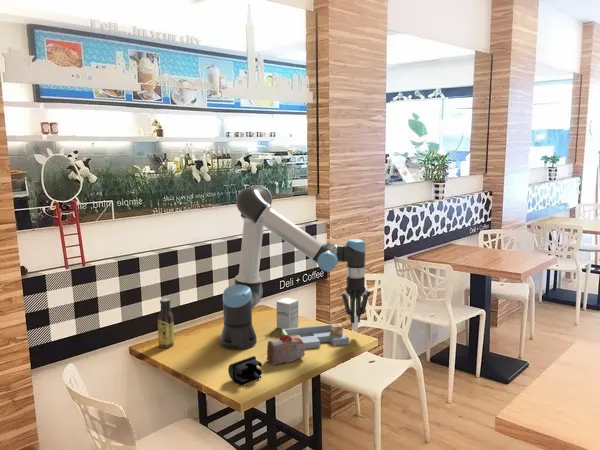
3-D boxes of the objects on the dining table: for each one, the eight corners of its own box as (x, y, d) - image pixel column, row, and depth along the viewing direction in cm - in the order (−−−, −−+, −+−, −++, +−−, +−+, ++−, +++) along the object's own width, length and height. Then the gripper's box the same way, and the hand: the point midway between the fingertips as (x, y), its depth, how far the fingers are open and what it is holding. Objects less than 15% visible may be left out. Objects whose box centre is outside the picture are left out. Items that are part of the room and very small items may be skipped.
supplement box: (276, 328, 227) (275, 301, 224) (285, 323, 233) (285, 296, 231) (289, 331, 222) (289, 304, 220) (299, 326, 228) (298, 299, 226)
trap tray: (340, 334, 219) (340, 323, 218) (348, 343, 208) (349, 332, 207) (281, 340, 212) (281, 329, 211) (287, 350, 202) (287, 338, 201)
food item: (296, 352, 200) (296, 328, 199) (306, 359, 193) (306, 335, 192) (265, 359, 193) (264, 335, 192) (274, 367, 187) (274, 342, 185)
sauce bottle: (155, 345, 207) (153, 299, 204) (168, 341, 212) (166, 296, 209) (164, 350, 203) (162, 302, 200) (177, 345, 208) (175, 299, 204)
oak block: (333, 336, 210) (333, 327, 209) (330, 332, 213) (330, 323, 213) (342, 335, 211) (342, 326, 210) (339, 332, 215) (339, 323, 214)
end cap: (251, 371, 184) (250, 353, 183) (263, 377, 179) (262, 359, 178) (228, 379, 177) (227, 361, 176) (240, 386, 172) (239, 368, 171)
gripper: (344, 279, 205) (343, 334, 209) (373, 277, 208) (372, 331, 212) (338, 275, 212) (337, 328, 216) (366, 272, 215) (365, 325, 219)
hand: (355, 329), depth 214 cm, fingers closed
